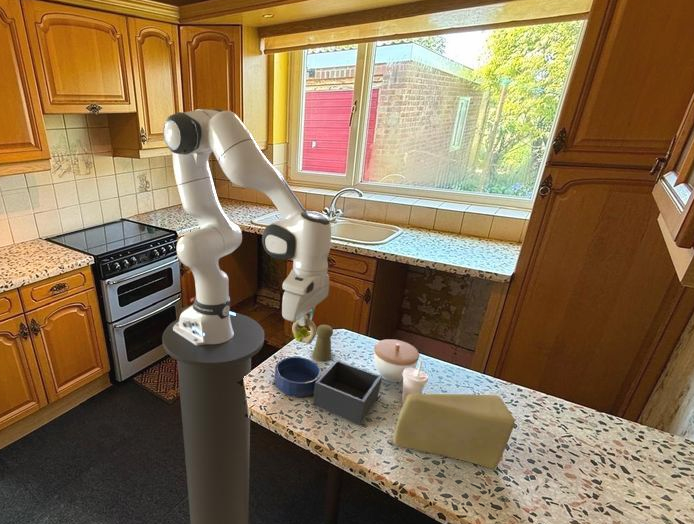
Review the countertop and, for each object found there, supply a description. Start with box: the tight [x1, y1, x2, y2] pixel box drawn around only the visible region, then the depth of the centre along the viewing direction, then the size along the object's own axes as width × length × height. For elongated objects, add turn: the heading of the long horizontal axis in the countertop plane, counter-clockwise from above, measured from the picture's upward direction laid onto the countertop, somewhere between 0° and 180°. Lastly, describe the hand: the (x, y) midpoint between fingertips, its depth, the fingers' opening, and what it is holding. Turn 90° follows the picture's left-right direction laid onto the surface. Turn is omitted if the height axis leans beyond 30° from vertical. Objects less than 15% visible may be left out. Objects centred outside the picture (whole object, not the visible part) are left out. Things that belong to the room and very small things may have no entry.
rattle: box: [291, 308, 317, 345], centre depth 111 cm, size 8×8×12 cm
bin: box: [312, 359, 383, 426], centre depth 110 cm, size 14×14×8 cm
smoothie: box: [401, 360, 429, 405], centre depth 108 cm, size 6×6×14 cm
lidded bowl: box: [373, 338, 420, 383], centre depth 120 cm, size 13×13×11 cm
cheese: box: [392, 393, 516, 470], centre depth 93 cm, size 22×10×15 cm, turn 80°
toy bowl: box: [274, 356, 322, 398], centre depth 118 cm, size 13×13×5 cm
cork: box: [312, 324, 334, 362], centre depth 130 cm, size 6×6×11 cm
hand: (305, 322), depth 109 cm, fingers closed on rattle
